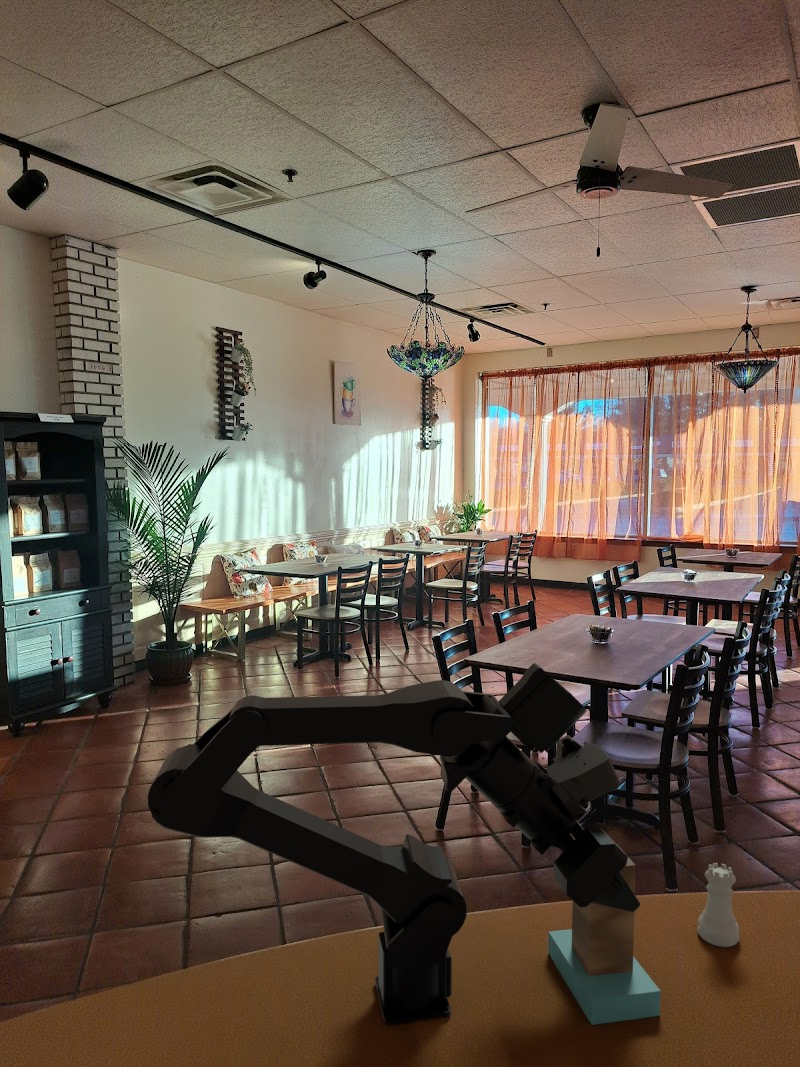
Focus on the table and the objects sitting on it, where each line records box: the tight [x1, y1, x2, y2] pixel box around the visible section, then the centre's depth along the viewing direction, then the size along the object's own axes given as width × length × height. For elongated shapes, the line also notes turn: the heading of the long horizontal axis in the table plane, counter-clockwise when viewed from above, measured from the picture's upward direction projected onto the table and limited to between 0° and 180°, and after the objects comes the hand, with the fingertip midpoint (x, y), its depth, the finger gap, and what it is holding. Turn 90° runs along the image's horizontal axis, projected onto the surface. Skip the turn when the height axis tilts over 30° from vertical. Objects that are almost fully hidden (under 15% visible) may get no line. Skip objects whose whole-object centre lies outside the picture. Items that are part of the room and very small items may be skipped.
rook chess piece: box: [696, 862, 741, 948], centre depth 86 cm, size 4×4×8 cm
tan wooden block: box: [571, 847, 637, 976], centre depth 78 cm, size 5×5×11 cm
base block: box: [547, 928, 662, 1026], centre depth 78 cm, size 7×11×2 cm, turn 11°
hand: (616, 882), depth 78 cm, fingers open, 9 cm apart
